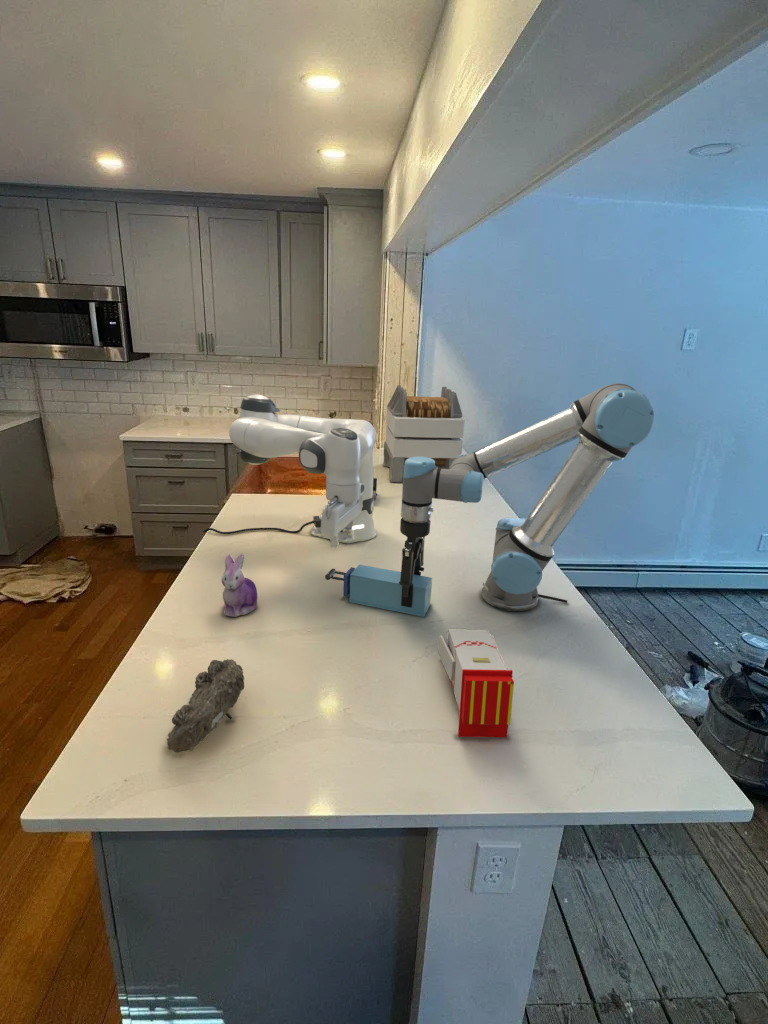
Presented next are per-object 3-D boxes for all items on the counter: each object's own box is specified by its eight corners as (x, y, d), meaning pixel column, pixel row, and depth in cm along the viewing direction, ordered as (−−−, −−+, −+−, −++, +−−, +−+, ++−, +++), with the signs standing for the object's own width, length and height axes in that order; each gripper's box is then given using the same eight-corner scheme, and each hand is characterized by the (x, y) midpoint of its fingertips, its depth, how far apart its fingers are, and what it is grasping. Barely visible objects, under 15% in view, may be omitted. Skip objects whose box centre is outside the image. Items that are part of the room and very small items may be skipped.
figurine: (226, 621, 140) (223, 566, 135) (217, 603, 148) (214, 550, 143) (264, 614, 144) (262, 560, 139) (253, 596, 153) (251, 545, 148)
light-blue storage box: (349, 602, 152) (350, 574, 150) (358, 591, 158) (359, 564, 156) (423, 617, 147) (425, 588, 144) (430, 604, 153) (432, 577, 150)
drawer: (323, 592, 155) (323, 571, 153) (331, 584, 160) (332, 563, 158) (412, 610, 148) (413, 588, 146) (418, 600, 153) (419, 579, 151)
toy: (488, 613, 130) (523, 677, 101) (484, 667, 133) (517, 744, 104) (435, 612, 130) (455, 676, 101) (432, 666, 133) (451, 743, 103)
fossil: (192, 660, 117) (244, 628, 112) (224, 691, 120) (276, 661, 115) (142, 746, 98) (202, 712, 93) (182, 779, 101) (242, 748, 96)
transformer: (382, 463, 289) (386, 382, 275) (445, 464, 293) (451, 384, 279) (390, 482, 257) (394, 392, 243) (460, 483, 261) (468, 394, 247)
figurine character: (377, 508, 228) (376, 492, 242) (377, 490, 225) (377, 476, 238) (360, 507, 228) (361, 492, 242) (360, 490, 225) (361, 475, 238)
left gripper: (338, 505, 138) (337, 556, 142) (367, 482, 156) (365, 529, 161) (314, 501, 139) (314, 552, 144) (346, 479, 158) (345, 526, 162)
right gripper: (420, 534, 132) (414, 620, 140) (439, 508, 150) (432, 586, 158) (389, 529, 135) (385, 614, 142) (411, 504, 152) (407, 581, 160)
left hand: (341, 540), depth 153 cm, fingers open, 8 cm apart
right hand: (410, 599), depth 150 cm, fingers closed on light-blue storage box, 7 cm apart
